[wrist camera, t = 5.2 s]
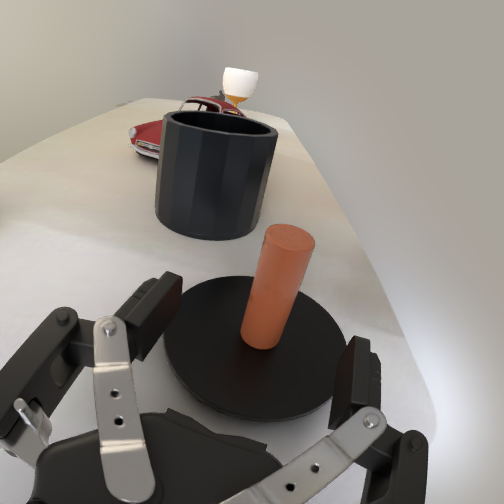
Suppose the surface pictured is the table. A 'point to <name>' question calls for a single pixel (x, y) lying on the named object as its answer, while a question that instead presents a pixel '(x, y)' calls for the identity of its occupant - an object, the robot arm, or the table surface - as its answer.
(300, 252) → the lid
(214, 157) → the canister
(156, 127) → the toy car
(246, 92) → the cup
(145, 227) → the table surface
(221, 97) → the dog figurine
